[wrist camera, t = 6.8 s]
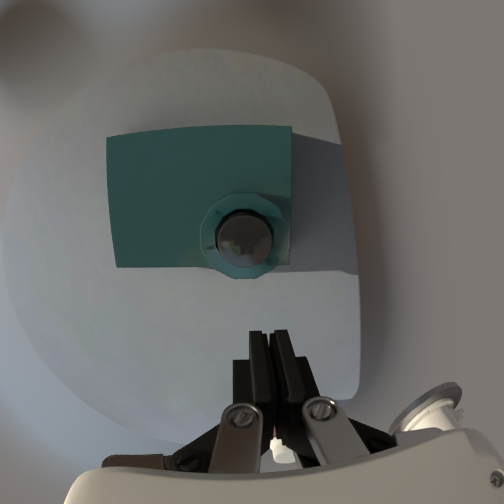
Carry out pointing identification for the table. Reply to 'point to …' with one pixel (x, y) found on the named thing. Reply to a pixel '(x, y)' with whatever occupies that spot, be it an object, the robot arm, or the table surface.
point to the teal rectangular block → (197, 194)
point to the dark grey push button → (244, 240)
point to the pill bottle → (281, 451)
